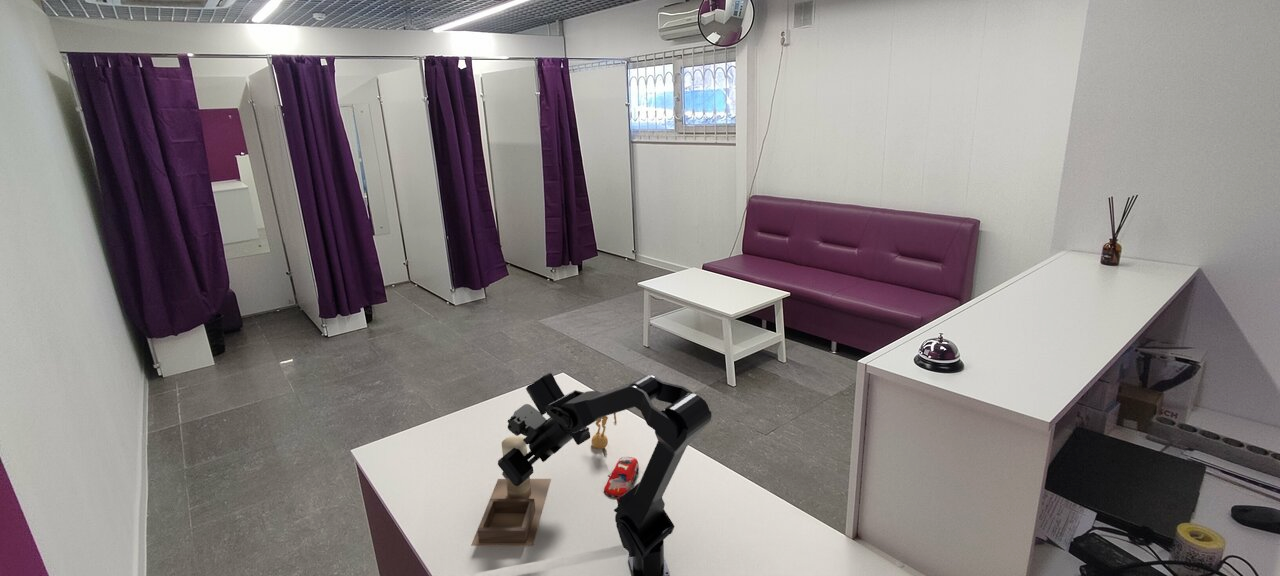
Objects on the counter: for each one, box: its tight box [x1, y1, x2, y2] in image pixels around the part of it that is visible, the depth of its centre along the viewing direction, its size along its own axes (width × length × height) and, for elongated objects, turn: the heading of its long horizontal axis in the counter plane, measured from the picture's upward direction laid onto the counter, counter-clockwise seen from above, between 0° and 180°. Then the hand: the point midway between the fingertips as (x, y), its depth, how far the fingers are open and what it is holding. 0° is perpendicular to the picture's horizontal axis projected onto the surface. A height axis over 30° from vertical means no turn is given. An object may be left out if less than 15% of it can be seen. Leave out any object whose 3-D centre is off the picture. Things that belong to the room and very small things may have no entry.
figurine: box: [591, 413, 617, 450], centre depth 142 cm, size 8×6×12 cm
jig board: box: [470, 478, 552, 547], centre depth 121 cm, size 20×12×4 cm, turn 178°
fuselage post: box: [501, 435, 531, 499], centre depth 124 cm, size 5×5×13 cm
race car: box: [603, 456, 640, 502], centre depth 130 cm, size 13×5×4 cm, turn 162°
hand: (518, 463), depth 123 cm, fingers open, 9 cm apart
